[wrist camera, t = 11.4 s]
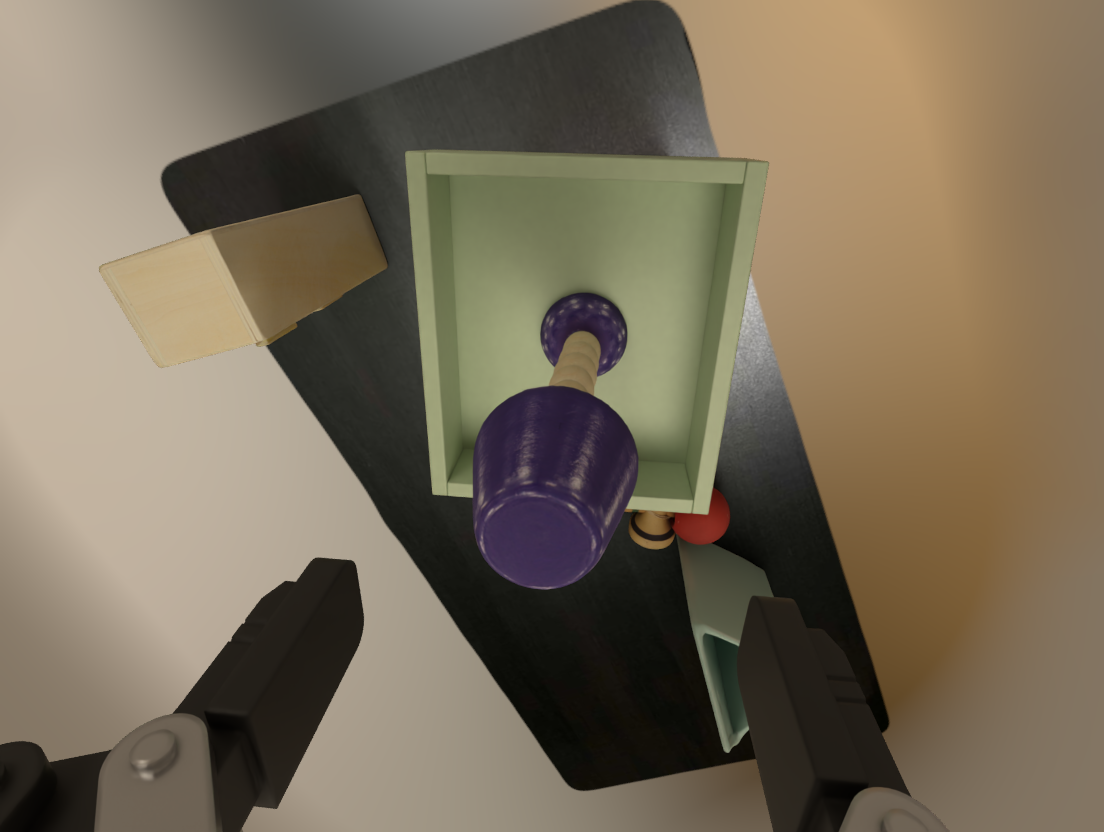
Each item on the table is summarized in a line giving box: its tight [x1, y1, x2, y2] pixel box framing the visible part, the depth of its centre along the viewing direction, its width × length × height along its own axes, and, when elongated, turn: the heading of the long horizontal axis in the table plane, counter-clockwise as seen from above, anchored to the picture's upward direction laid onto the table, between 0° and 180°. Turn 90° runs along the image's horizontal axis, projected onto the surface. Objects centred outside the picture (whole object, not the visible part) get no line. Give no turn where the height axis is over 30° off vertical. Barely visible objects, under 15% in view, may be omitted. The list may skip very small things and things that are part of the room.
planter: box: [676, 534, 773, 753], centre depth 55 cm, size 16×8×20 cm, turn 20°
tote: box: [405, 150, 769, 515], centre depth 26 cm, size 16×14×4 cm
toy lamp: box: [473, 293, 639, 589], centre depth 20 cm, size 5×5×17 cm
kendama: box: [624, 488, 730, 549], centre depth 58 cm, size 8×6×18 cm
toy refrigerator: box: [99, 195, 388, 368], centre depth 43 cm, size 8×7×21 cm
